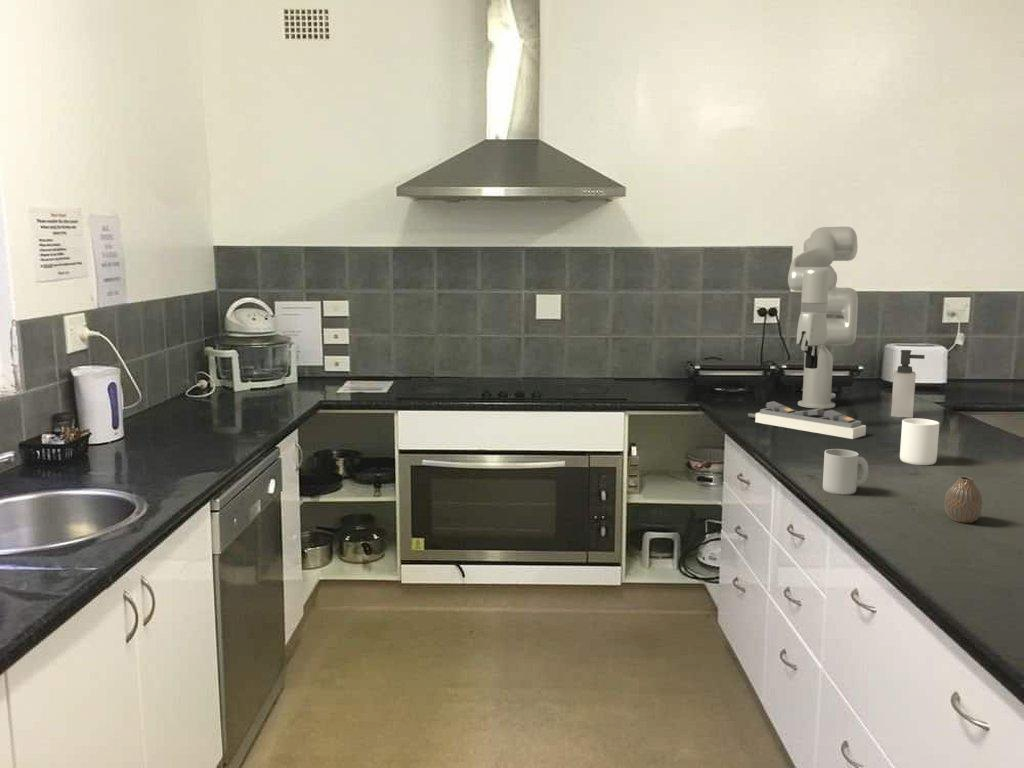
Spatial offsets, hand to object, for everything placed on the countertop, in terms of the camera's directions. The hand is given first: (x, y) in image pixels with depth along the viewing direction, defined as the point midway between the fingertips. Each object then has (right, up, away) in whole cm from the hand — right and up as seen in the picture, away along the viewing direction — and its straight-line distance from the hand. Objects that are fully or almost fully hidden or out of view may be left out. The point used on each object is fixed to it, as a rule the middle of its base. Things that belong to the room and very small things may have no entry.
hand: (811, 368), depth 246 cm
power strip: (-1, -19, +5) cm, 19 cm away
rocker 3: (+6, -15, -5) cm, 17 cm away
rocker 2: (0, -14, +2) cm, 14 cm away
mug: (+14, -25, -37) cm, 46 cm away
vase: (-1, -33, -84) cm, 90 cm away
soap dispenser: (+40, -16, +22) cm, 48 cm away
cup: (-16, -30, -63) cm, 72 cm away
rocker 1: (-6, -13, +10) cm, 17 cm away
